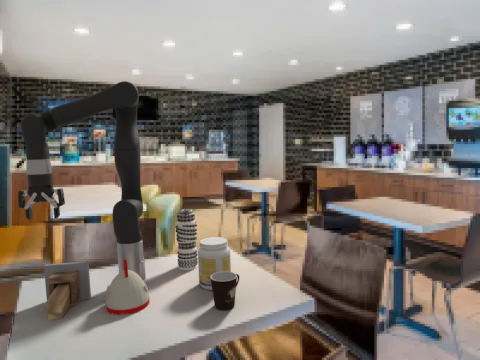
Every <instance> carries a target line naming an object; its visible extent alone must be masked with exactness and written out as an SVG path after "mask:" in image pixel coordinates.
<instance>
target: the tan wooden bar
mask: <svg viewBox="0 0 480 360" xmlns="http://www.w3.org/2000/svg"><path fill="white" fill-rule="evenodd" d="M71 301H72V300H71V287H70V282H67V283H58V285H57V286H56V288H55V289H54V291H53V292H52V294H51V295H50V297H49V298H48V300H47V299H46V301H45V306H46V307H45V308H46V314H47V320H48V321H51V320H61V319H62V320H63V318H64V316H65V314H66V312H67V310H68V308H69V305H70V303H71Z"/></svg>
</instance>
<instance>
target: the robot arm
mask: <svg viewBox="0 0 480 360" xmlns="http://www.w3.org/2000/svg"><path fill="white" fill-rule="evenodd" d="M139 98H140V94H139V89H138V88H137V87H136V85H135V84H134V83H132V82H131V81H130V82H129V81H125V80H124V81H119V82H117V83H115V84H113V85H111V86H110V87H108V88H106V89H105V90H102V91H100V92H97V93H95V94H91V95H89V96H86V97H83V98H79V99H75V100H73V101H69V102H66V103H63V104H59V105H57V106H54V107H52V108H51V109H50V110H47V111H44V112H41V113H35V112H31V113H27V114H26V115H23V117H22V118H21V122H20V130H21V134H22V138H23V142H24V146H25V156H26V167H25V168H26V171H25V172H26V178H27V186H28V189H26V190H25V189H21V190H18V194H17V195H18V197H17V199H18V202H17V203H18V208H20V209H24V210H25V218H26V219H27V221H31V220H33V218H34V216H33V208H32V207H33V205H34V204H35V203H40V202H42V203H46V202H48V203H49V204H50V205H51V206H53V208H52V209H53V217H54V219H58V218H59V217H60V216H61V212H60V211H61V210H60V209H61V207H62V206H64V205H66V200H65V193H64V188H63V187H60V188H54V183H53V173H52V171H53V170H52V163H51V155H50V147H49V144H48V143H47V140H46V134H47V133H50V132H52V131H54V130H57V129H59V128H62V127H67V126H68V125H73V124H75V123H79V122H81V121H83V120H86V119H88V118H90V117H92V116H95V115H97V114H99V113H103V112H106V111H109V110H112V109H113V110H115V120H116V121H115V122H116V124H115V131H114V132H115V133H114V141H113V142H114V143H113V156H114V157H113V158H114V159H113V160H114V164H115V170H116V172H117V175H118V178H119V181H120V185H121V186H120V187H121V197H120V198H121V199H120V200H119V201H117V202H116V203H115V204H114V206H113V208H112V224H113V232H114V236H115V238H116V247H117V249H116V251H117V264H118V265H117V269H118V274H119V273H120V272H122V271H124V260H127V267H128V270H131V271H133V272H135V273H137V274H138V275H139V276H140V277H141V279H142V280H145V281H147V280H146V279H147V278H146V261H145V260H146V259H145V256H144V245H143V242H144V241H143V233H142V231H140V229H139V227H140V226H139V219H140V218H141V217H142V215H143V213H144V203H143V197H142V187H141V176H142V175H141V160H142V159H141V158H142V157H141V143H140V135H139V130H138V129H139V128H138V121H137V120H138V105H139V100H140V99H139ZM54 194H56V196H57V199H58V201H57V199H56V198H55V197H54V196H53V195H54ZM27 195H28V196H29V199H28V200H27V203H26V197H27Z"/></svg>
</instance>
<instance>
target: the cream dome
mask: <svg viewBox="0 0 480 360" xmlns="http://www.w3.org/2000/svg"><path fill="white" fill-rule="evenodd" d="M146 281H147V280H146ZM146 281H145V280H142V279H141V277H140V276H139V275H138V274H137V273H135V272H133V271H131V270H128V267H127V260H124V271H122V272H120V273H119V272H118V273H117V274H116V275H115V277H114V278H113V279H112V281H111V283H110V284H109V285H107V287H106V292H105V293H106V294H105V310H106V312H107V313H109V314H112V315H116V316H117V315H120V316H122V315H124V316H125V315H131V314H135V313H138V312H140V311H142V310H145V309H146V308H147V307H148V306H149V305H150V294H149V289H148V285H147V282H146Z"/></svg>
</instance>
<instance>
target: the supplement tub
mask: <svg viewBox="0 0 480 360" xmlns="http://www.w3.org/2000/svg"><path fill="white" fill-rule="evenodd" d="M197 259H198V260H197V261H198V263H197V265H198V267H197V268H198V283H199V286H200V287H201V288H202V289H205V290H208V291H212V285H211V278H210V276H211V275H212V274H214V273H217V272H232V266H231V265H232V264H231V260H232V259H231V248H230V247H229V243H228V239H227V238H225V237H221V236H220V237H218V236H217V237H216V236H213V237H206V238H203V239H200V240H199V248H198V250H197Z"/></svg>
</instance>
